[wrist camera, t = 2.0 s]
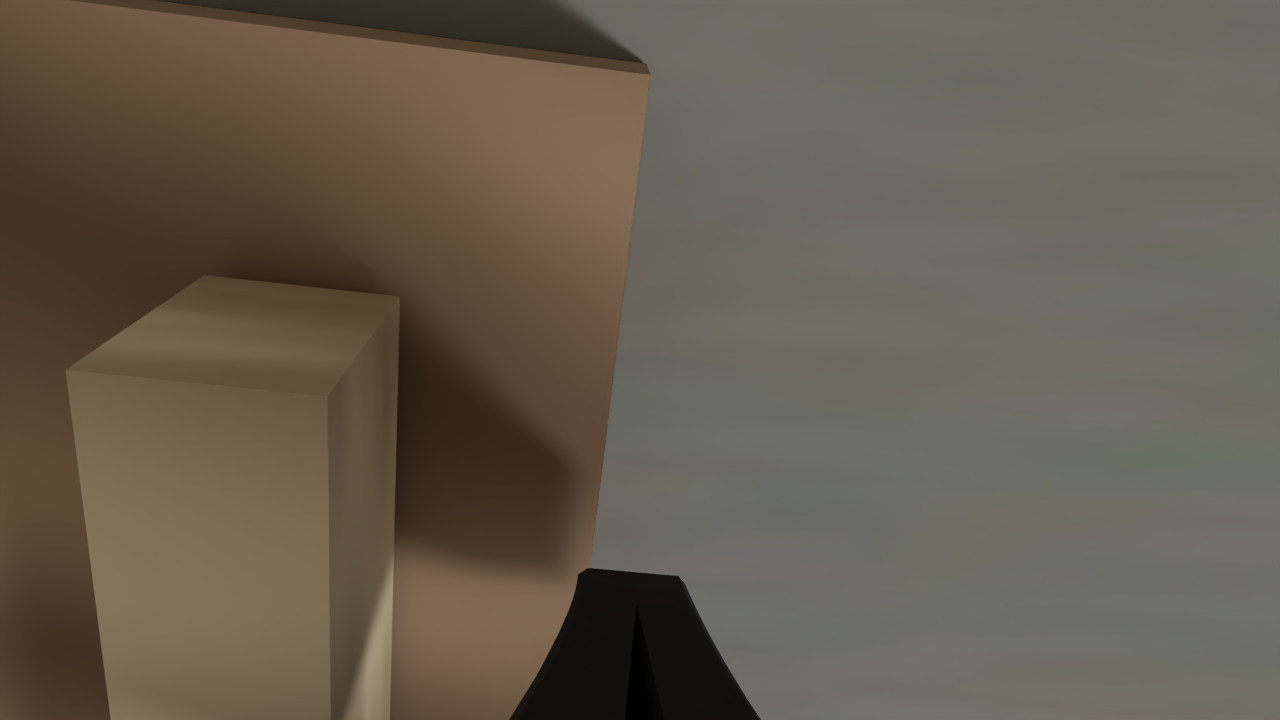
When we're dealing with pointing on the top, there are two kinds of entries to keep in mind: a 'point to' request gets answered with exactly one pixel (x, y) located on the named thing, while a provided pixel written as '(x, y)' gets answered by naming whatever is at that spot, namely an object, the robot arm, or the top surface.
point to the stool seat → (325, 258)
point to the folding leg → (243, 502)
